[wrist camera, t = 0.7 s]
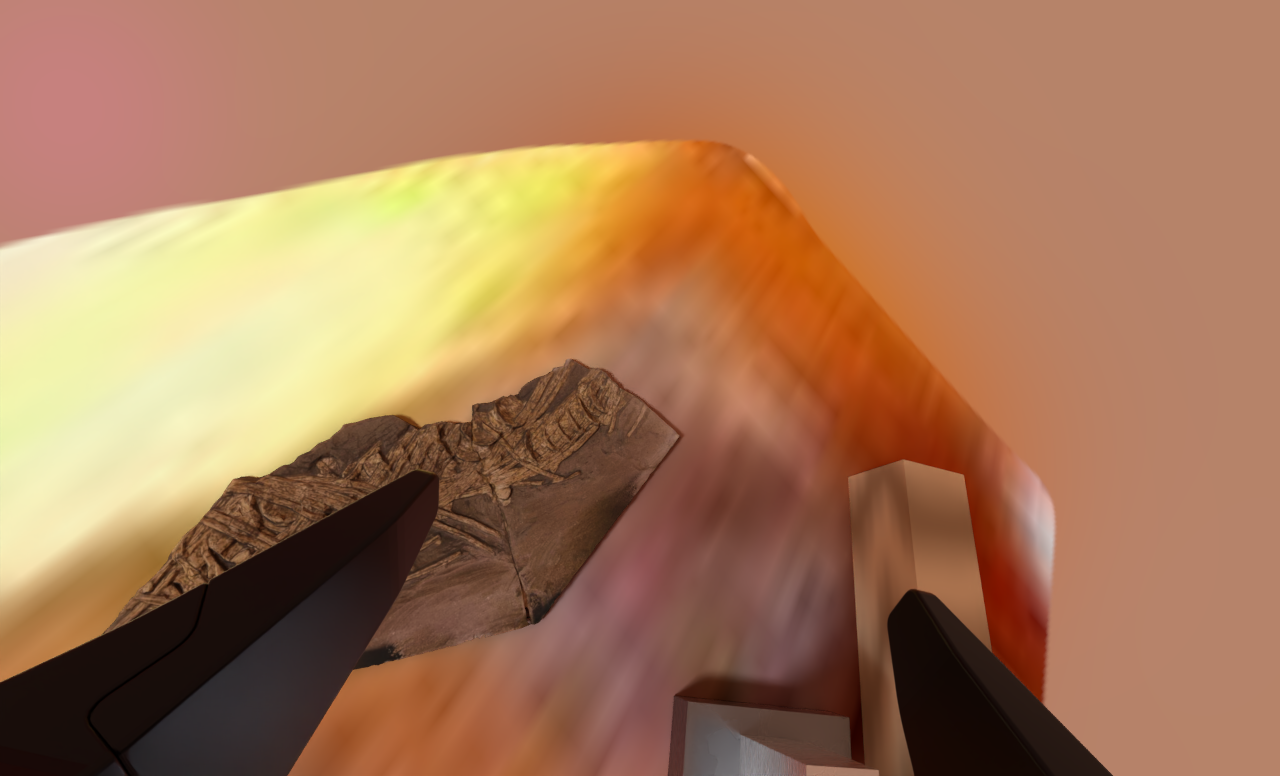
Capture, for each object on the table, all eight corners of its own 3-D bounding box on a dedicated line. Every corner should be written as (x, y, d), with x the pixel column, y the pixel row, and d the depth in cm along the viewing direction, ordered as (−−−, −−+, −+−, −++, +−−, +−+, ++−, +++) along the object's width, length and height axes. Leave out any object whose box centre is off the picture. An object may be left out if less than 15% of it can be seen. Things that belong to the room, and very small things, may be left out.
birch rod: (938, 872, 23) (1036, 927, 19) (866, 871, 22) (954, 929, 18) (899, 491, 31) (963, 474, 27) (845, 477, 30) (903, 459, 26)
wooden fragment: (631, 343, 29) (637, 334, 28) (718, 524, 26) (728, 522, 25) (-5, 536, 17) (-31, 532, 16) (46, 883, 15) (19, 902, 14)
